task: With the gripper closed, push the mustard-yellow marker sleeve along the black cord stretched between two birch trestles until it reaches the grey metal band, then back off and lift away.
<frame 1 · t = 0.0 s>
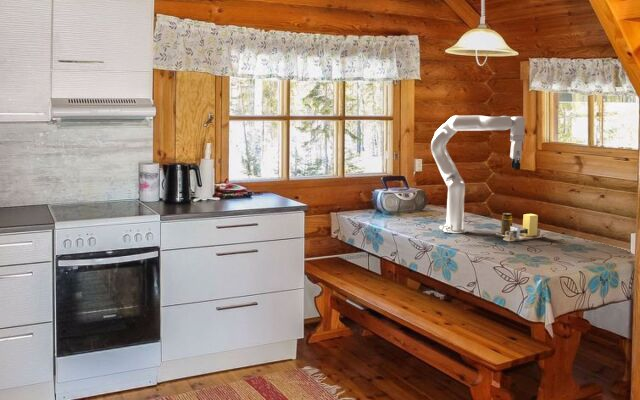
hand: (515, 168, 394), 37 cm above the table, tool pointing down, fingers open, 9 cm apart
condiment: (504, 234, 397), on the table
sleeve: (530, 224, 387), point 7 cm above the table, slide at 0.0 cm
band: (514, 239, 383), resting on cord rig
cord rig: (522, 238, 386), on the table
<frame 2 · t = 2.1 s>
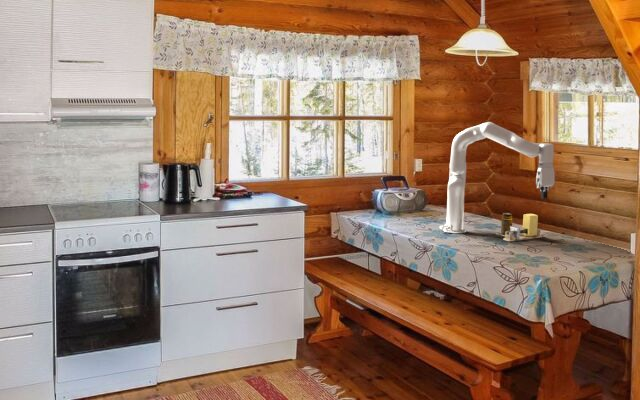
hand: (544, 198, 389), 22 cm above the table, tool pointing down, fingers closed
nothing on the table moved.
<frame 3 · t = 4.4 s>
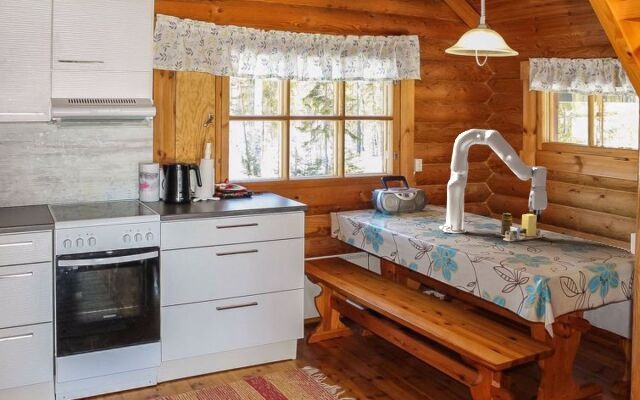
hand: (536, 221, 389), 9 cm above the table, tool pointing down, fingers closed
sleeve: (528, 224, 387), point 7 cm above the table, slide at 0.9 cm, touching gripper
everything else where it was.
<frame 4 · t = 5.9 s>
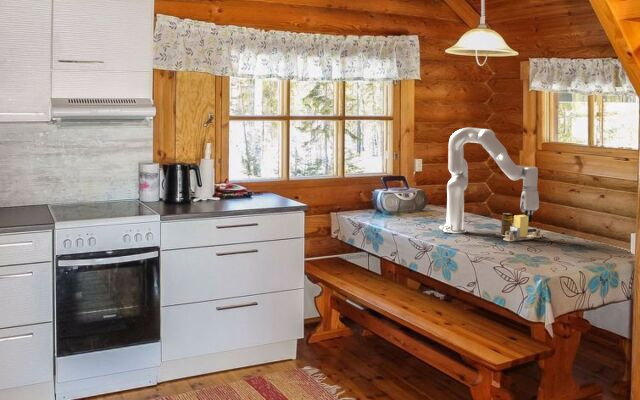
hand: (528, 221, 386), 9 cm above the table, tool pointing down, fingers closed
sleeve: (520, 225, 384), point 7 cm above the table, slide at 7.0 cm, touching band, gripper
everything else where it was.
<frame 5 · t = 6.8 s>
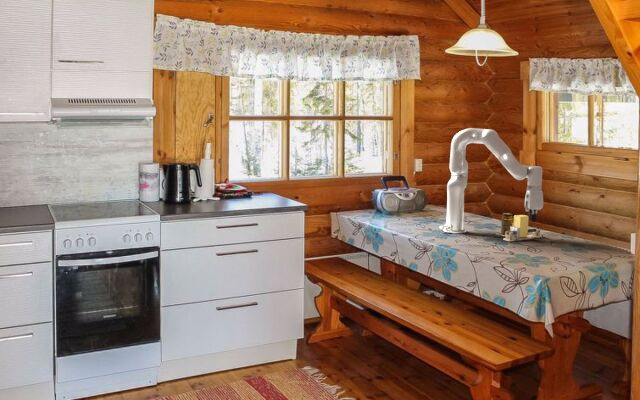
hand: (532, 221, 387), 9 cm above the table, tool pointing down, fingers closed
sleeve: (520, 225, 384), point 7 cm above the table, slide at 7.0 cm, touching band
everything else where it was.
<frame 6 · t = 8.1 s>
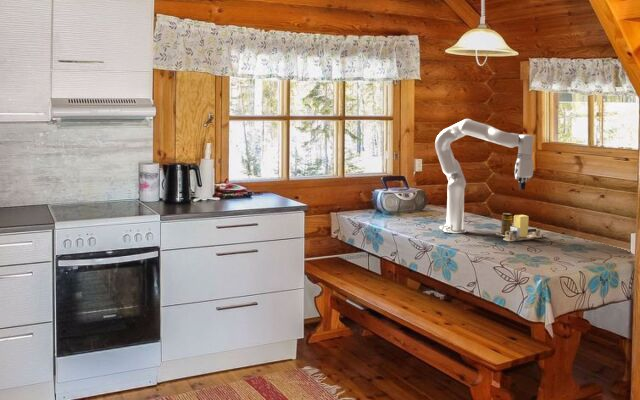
hand: (521, 189, 389), 26 cm above the table, tool pointing down, fingers closed
nothing on the table moved.
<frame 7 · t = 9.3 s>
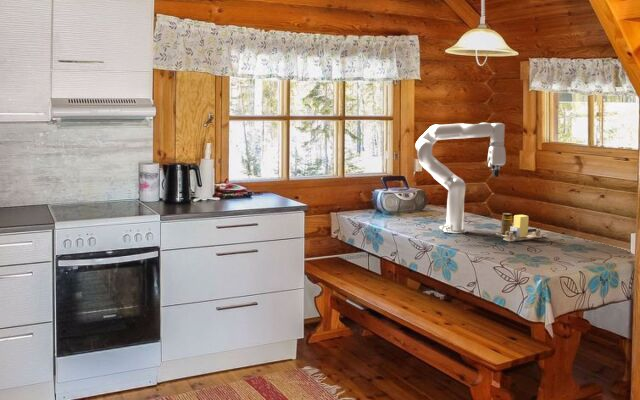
hand: (495, 176, 399), 32 cm above the table, tool pointing down, fingers closed
nothing on the table moved.
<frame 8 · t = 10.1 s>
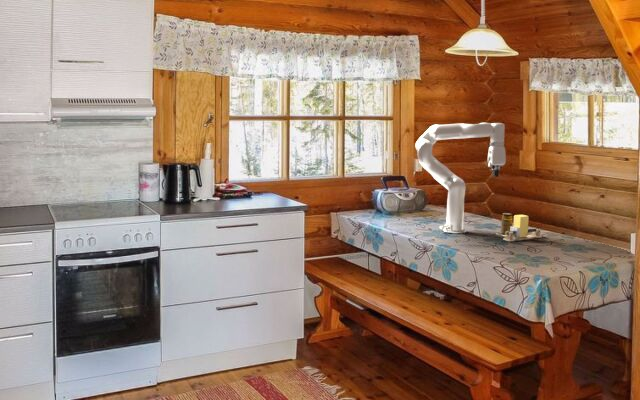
hand: (495, 176, 399), 32 cm above the table, tool pointing down, fingers closed
nothing on the table moved.
at the end: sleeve slide at 7.0 cm; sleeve 4.0 cm from the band (horizontally) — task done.
